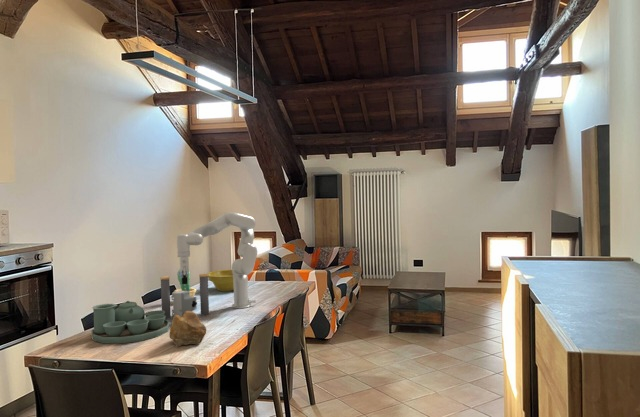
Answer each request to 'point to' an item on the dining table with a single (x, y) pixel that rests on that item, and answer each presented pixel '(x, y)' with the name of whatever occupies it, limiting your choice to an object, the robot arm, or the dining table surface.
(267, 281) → the dining table surface
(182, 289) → the potted cactus
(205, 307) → the post
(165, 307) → the post
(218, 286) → the planter bowl
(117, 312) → the tea set
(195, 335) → the rough brown rock
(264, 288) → the dining table surface
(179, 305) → the circuit breaker
